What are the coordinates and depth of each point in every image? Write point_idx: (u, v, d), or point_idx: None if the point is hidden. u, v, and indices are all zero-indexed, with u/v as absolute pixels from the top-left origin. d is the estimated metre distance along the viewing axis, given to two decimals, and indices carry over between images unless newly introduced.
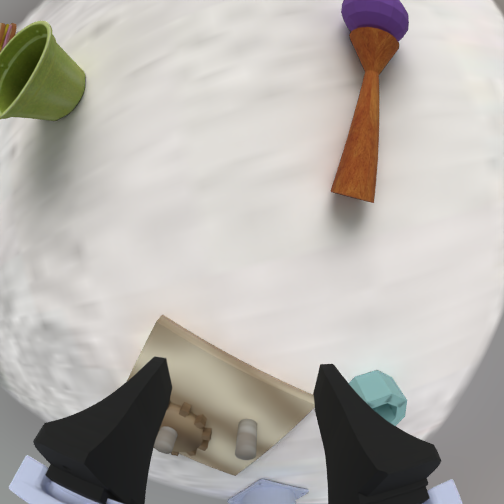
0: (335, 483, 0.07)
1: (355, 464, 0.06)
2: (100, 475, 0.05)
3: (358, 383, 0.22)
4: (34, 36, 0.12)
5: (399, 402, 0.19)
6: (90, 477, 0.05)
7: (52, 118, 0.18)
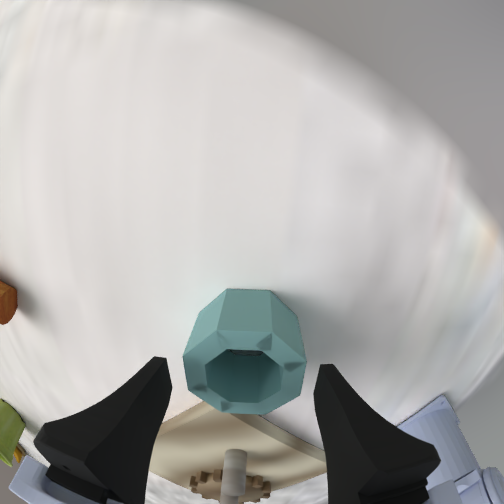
0: (335, 483, 0.07)
1: (355, 464, 0.06)
2: (100, 475, 0.05)
3: None
4: None
5: (214, 345, 0.11)
6: (90, 477, 0.05)
7: (21, 427, 0.22)
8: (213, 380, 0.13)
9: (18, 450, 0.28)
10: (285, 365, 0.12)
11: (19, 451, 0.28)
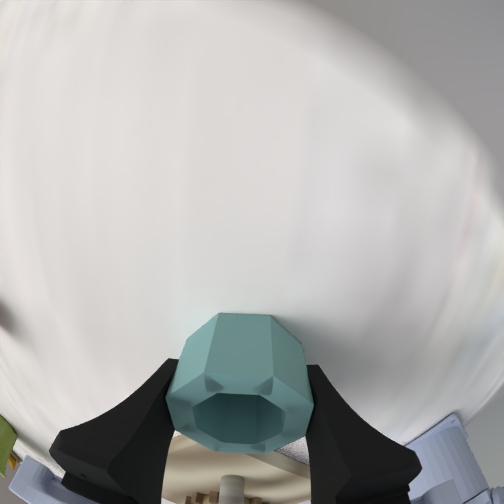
0: (316, 485, 0.07)
1: (333, 467, 0.06)
2: (121, 482, 0.05)
3: None
4: None
5: (202, 388, 0.09)
6: (110, 485, 0.05)
7: (13, 438, 0.20)
8: (204, 419, 0.10)
9: (12, 457, 0.25)
10: (288, 409, 0.09)
11: (13, 458, 0.26)
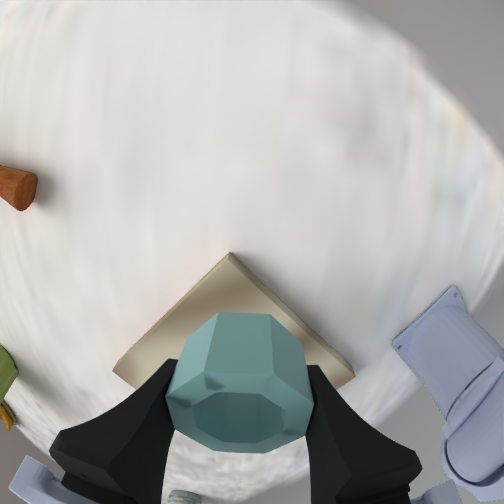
0: (316, 485, 0.07)
1: (333, 467, 0.06)
2: (121, 482, 0.05)
3: None
4: None
5: (202, 387, 0.09)
6: (110, 485, 0.05)
7: (13, 372, 0.24)
8: (203, 418, 0.10)
9: (8, 415, 0.30)
10: (288, 408, 0.09)
11: (9, 416, 0.30)
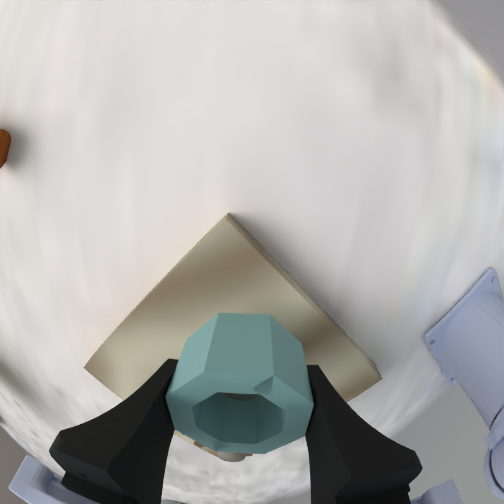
0: (316, 485, 0.07)
1: (333, 467, 0.06)
2: (121, 482, 0.05)
3: None
4: None
5: (202, 387, 0.09)
6: (110, 485, 0.05)
7: None
8: (203, 418, 0.10)
9: None
10: (288, 408, 0.09)
11: None
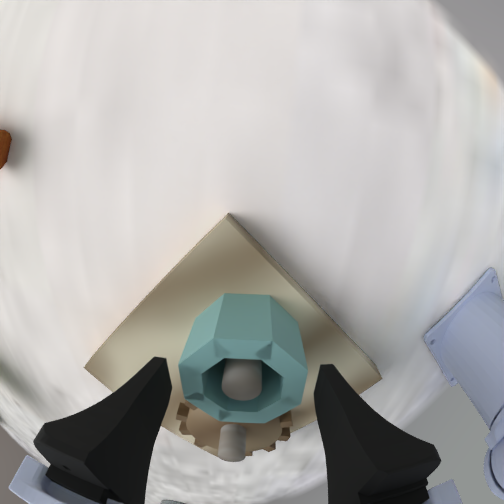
0: (335, 483, 0.07)
1: (355, 464, 0.06)
2: (100, 475, 0.05)
3: None
4: None
5: (211, 354, 0.11)
6: (90, 477, 0.05)
7: None
8: (210, 388, 0.12)
9: None
10: (285, 374, 0.11)
11: None
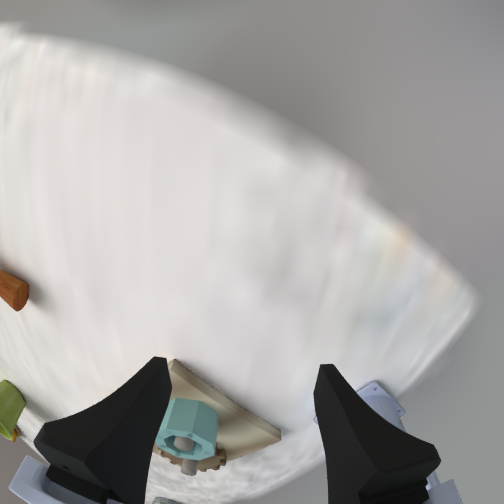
0: (335, 483, 0.07)
1: (355, 464, 0.06)
2: (100, 475, 0.05)
3: None
4: None
5: (166, 433, 0.19)
6: (90, 477, 0.05)
7: (22, 404, 0.28)
8: (170, 442, 0.21)
9: None
10: (202, 444, 0.20)
11: (14, 430, 0.34)
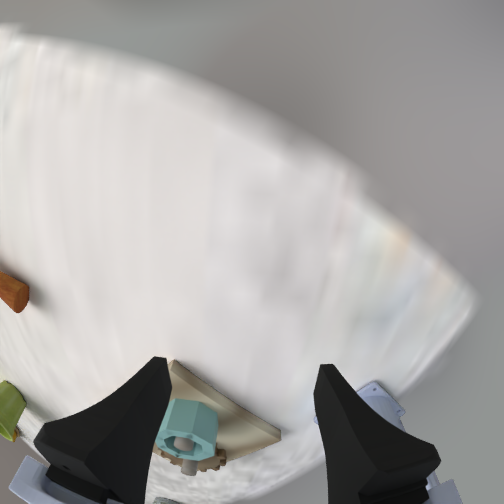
0: (335, 483, 0.07)
1: (355, 464, 0.06)
2: (100, 475, 0.05)
3: None
4: None
5: (166, 433, 0.19)
6: (90, 477, 0.05)
7: (22, 405, 0.28)
8: (170, 443, 0.21)
9: None
10: (201, 444, 0.20)
11: None
